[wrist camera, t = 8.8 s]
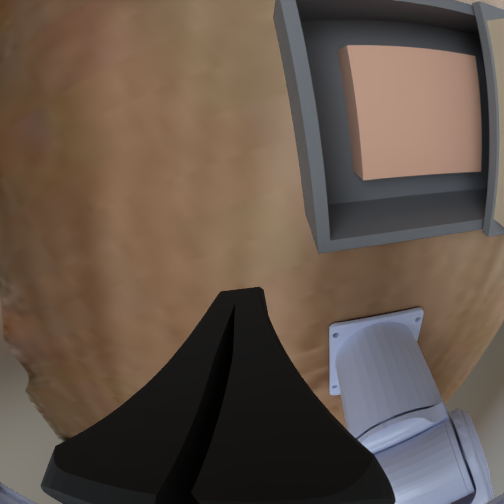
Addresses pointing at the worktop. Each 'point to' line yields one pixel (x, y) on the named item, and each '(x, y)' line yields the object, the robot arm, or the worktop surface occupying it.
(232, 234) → the worktop surface
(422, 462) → the robot arm
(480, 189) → the box
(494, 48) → the lid
